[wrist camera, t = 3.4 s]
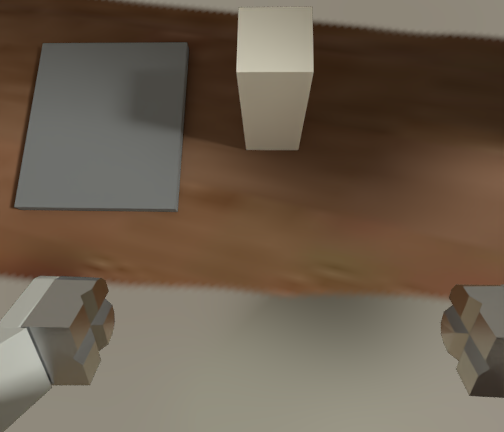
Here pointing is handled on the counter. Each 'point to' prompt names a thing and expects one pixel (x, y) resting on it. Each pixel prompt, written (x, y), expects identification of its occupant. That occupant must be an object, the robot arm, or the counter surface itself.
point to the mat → (105, 128)
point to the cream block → (274, 74)
